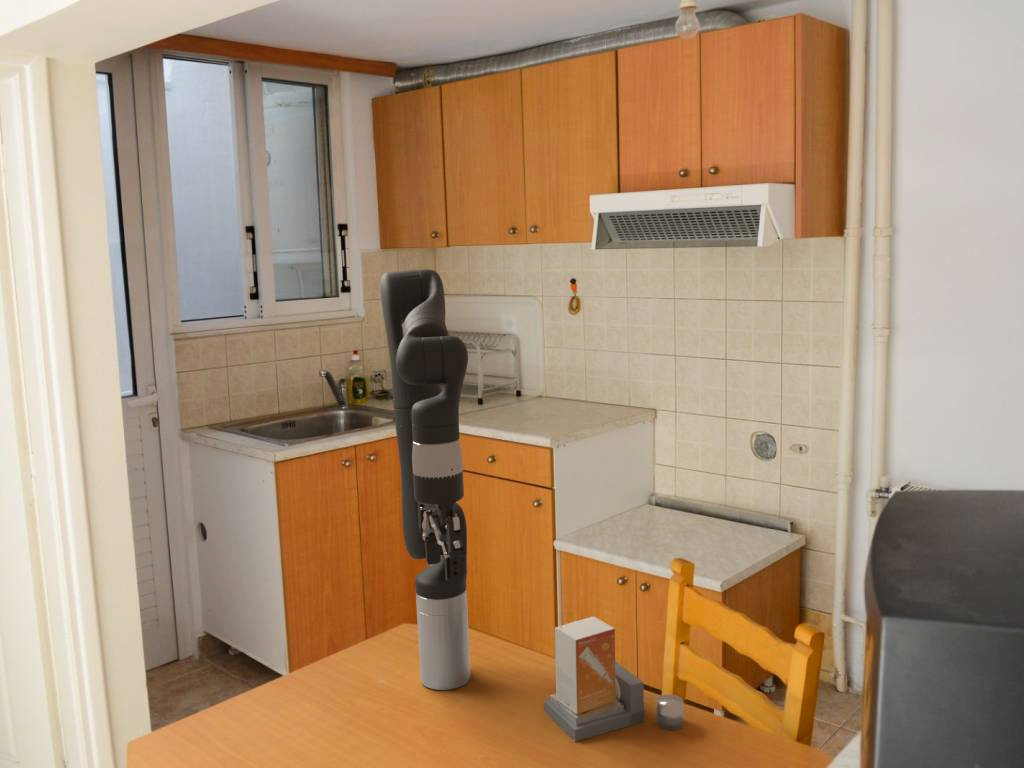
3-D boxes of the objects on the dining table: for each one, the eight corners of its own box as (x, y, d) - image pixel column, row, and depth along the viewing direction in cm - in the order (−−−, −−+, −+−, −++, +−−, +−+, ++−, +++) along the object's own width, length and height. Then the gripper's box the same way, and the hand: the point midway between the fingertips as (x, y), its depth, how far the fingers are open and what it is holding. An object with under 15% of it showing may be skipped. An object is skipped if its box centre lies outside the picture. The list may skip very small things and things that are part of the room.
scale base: (544, 711, 161) (542, 673, 159) (609, 693, 166) (608, 656, 165) (575, 741, 151) (573, 701, 150) (643, 721, 156) (643, 682, 155)
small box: (577, 716, 152) (575, 640, 150) (555, 700, 158) (553, 626, 156) (617, 701, 156) (615, 627, 154) (594, 686, 162) (592, 615, 160)
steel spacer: (651, 721, 156) (651, 698, 156) (673, 714, 158) (673, 692, 157) (666, 733, 152) (666, 710, 152) (689, 726, 154) (688, 703, 154)
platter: (550, 701, 160) (550, 695, 159) (596, 689, 163) (596, 682, 163) (575, 725, 152) (575, 718, 151) (623, 712, 155) (623, 705, 155)
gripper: (479, 475, 137) (483, 582, 139) (444, 456, 149) (449, 553, 152) (430, 483, 134) (436, 591, 136) (399, 462, 146) (404, 562, 149)
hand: (443, 571), depth 144 cm, fingers open, 8 cm apart
